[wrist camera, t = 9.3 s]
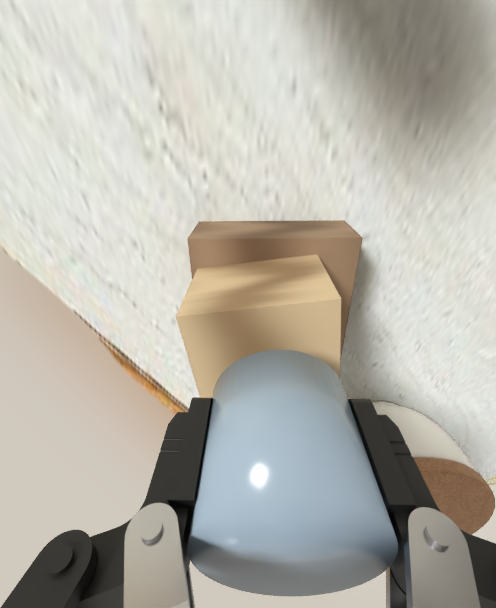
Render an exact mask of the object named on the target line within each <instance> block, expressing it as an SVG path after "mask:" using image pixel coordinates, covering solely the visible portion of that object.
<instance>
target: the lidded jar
mask: <svg viewBox="0 0 496 608" xmlns="http://www.w3.org/2000/svg"><path fill="white" fill-rule="evenodd" d="M372 403H373V405H374V408H375V410H376V412H377V414H378V415H387V416H388V417H389V418H390V419H391V420H392V421H393V422H394V423H395V424H396V425H397V426H398V428H399V430H400V432H401V434H402V436H403V438H404V440H405V444H407V446H408V448H409V450H410V452H411V456H413V458H414V460H415V462H416V464H417V466H418V468H419V470H420V472H421V474H422V477H423V479H424V481H425V483H426V485H427V487H428V489H429V491H430V493H431V495H432V497H433V499H434V501H435V503H436V505H437V506H438V508H439V509H440V511H441V512H442V513H443V514H444V515H446V516H447V517H449V518H450V519H451V520H452V521H453V522H454V523H455V524H456V525H457V526H458V528H459V529H461V530H462V531H464V532H466V533H468V534H470V535H471V534H473V533H475V532H476V531H477V530H479V529H480V528H481V527H483V526H484V524H486V523H487V521H488V520H489V519H490V517H491V516H492V514H493V511H494V508H495V498H494V495H493V492H492V490H491V489H490V487H489V486H488V484H487V483H486V482H485V480H484V479H483V478H482V477H481V475H480V474H479V473H478V472H477V471H476V470H475V468H474V467H473V465H472V464H471V462H470V461H469V460H468V458H467V457H466V455H465V454H464V453H463V451H462V450H461V449H460V448H459V446H458V445H457V444H456V443H455V442H454V440H453V439H452V438H451V437H450V436H449V435H448V434H447V433H446V432H445V431H444V430H443V429H442V428H441V427H440V426H438V425H437V424H436V423H435V422H433V421H432V420H431V419H429V418H428V417H426V416H424V415H422V414H420V413H418V412H417V411H415V410H412V409H409V408H406V407H402V406H399V405H397V404H395V403H392V402H387V401H374V402H372Z"/></svg>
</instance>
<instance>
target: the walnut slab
mask: <svg viewBox="0 0 496 608" xmlns="http://www.w3.org/2000/svg"><path fill="white" fill-rule="evenodd" d="M361 243H362V237H361V236H360V235H359V234H358V233H357V232H356V231H355V230H354V229H353V228H352V227H351V226H349V225H348V224H347V223H346V222H345V221H215V222H199V223H198V224H197V226H196V227H195V229H194V230H193V232H192V233H191V234H190V236H189V237H188V246H189V255H190V264H191V272H192V280H193V277H194V275H195V273H196V271H197V269H199V268H207V267H216V266H224V265H232V264H240V263H249V262H257V261H265V260H273V259H282V258H290V257H298V256H307V255H315V254H317V255H318V256H319V258H320V260H321V262H322V264H323V266H324V268H325V269H326V271H327V273H328V275H329V277H330V279H331V281H332V282H333V284H334V286H335V288H336V290H337V292H338V294H339V295H340V297H341V345H340V360H341V354H342V348H343V343H344V337H345V332H346V326H347V321H348V315H349V310H350V304H351V298H352V293H353V287H354V282H355V276H356V271H357V265H358V260H359V254H360V248H361Z"/></svg>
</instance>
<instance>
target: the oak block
mask: <svg viewBox="0 0 496 608" xmlns="http://www.w3.org/2000/svg"><path fill="white" fill-rule="evenodd" d="M176 318H177V322H178V325H179V328H180V332H181V335H182V338H183V342H184V345H185V348H186V352H187V355H188V358H189V362H190V365H191V369H192V372H193V375H194V379H195V382H196V385H197V389H198V392H199V395H200V398H212V396H213V390H214V387H215V384H216V382H217V380H218V378H219V377H220V375H221V374H222V373H223V372H224V371H225V370H226V369H227V368H228V367H229V366H230V365H232V364H233V363H234V362H236V361H238V360H239V359H241V358H243V357H246V356H248V355H251V354H254V353H257V352H261V351H268V350H293V351H299V352H303V353H306V354H309V355H312V356H314V357H316V358H318V359H320V360H322V361H324V362H325V363H326V364H328V365H329V366H330V367H331V368H332V369H333V370H334V371H335V372H336V373H337V375H338V376H339V378H340V345H341V297H340V295H339V294H338V292H337V290H336V288H335V286H334V284H333V282H332V281H331V279H330V277H329V275H328V273H327V271H326V269H325V268H324V266H323V264H322V262H321V260H320V258H319V256H318V255H317V254H315V255H307V256H298V257H290V258H282V259H273V260H265V261H257V262H249V263H240V264H232V265H224V266H216V267H207V268H199V269H197V271H196V273H195V275H194V277H193V280H192V282H191V284H190V286H189V289H188V291H187V293H186V295H185V298H184V300H183V302H182V304H181V307H180V309H179V311H178V313H177V316H176Z"/></svg>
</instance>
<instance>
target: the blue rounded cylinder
mask: <svg viewBox="0 0 496 608" xmlns="http://www.w3.org/2000/svg"><path fill="white" fill-rule="evenodd" d="M212 398H213V399H212V406H211V412H210V418H209V424H208V430H207V436H206V442H205V448H204V455H203V461H202V467H201V473H200V479H199V485H198V491H197V497H196V504H195V508H194V511H193V516H192V522H191V529H190V535H189V541H188V547H187V550H188V556H189V558H190V560H191V562H192V563H193V565H194V566H195V567H196V568H197V569H198V570H199V571H200V572H201V573H203V574H204V575H205V576H207V577H209V578H210V579H212V580H214V581H216V582H218V583H220V584H223V585H226V586H228V587H231V588H235V589H238V590H242V591H246V592H251V593H257V594H263V595H273V596H310V595H319V594H326V593H332V592H337V591H341V590H345V589H349V588H352V587H355V586H358V585H361V584H363V583H365V582H367V581H370V580H372V579H373V578H375V577H377V576H379V575H380V574H381V573H383V572H384V571H385V570H387V569H388V568H389V567H390V565H391V564H392V563H393V562H394V560H395V558H396V556H397V553H398V542H397V538H396V535H395V532H394V530H393V527H392V524H391V521H390V518H389V515H388V512H387V510H386V507H385V504H384V501H383V498H382V495H381V493H380V490H379V487H378V484H377V481H376V478H375V475H374V473H373V470H372V467H371V464H370V461H369V458H368V456H367V453H366V450H365V447H364V444H363V441H362V439H361V436H360V433H359V430H358V427H357V424H356V421H355V419H354V416H353V413H352V410H351V407H350V404H349V402H348V399H347V396H346V393H345V390H344V387H343V384H342V382H341V380H340V378H339V376H338V375H337V373H336V372H335V371H334V370H333V369H332V368H331V367H330V366H329V365H328V364H326V363H325V362H324V361H322V360H320V359H318V358H316V357H314V356H312V355H309V354H306V353H303V352H299V351H293V350H268V351H261V352H257V353H254V354H251V355H248V356H246V357H243V358H241V359H239V360H238V361H236V362H234V363H233V364H232V365H230V366H229V367H228V368H227V369H226V370H225V371H224V372H223V373H222V374H221V375H220V377H219V378H218V380H217V382H216V384H215V387H214V390H213V396H212Z"/></svg>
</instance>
